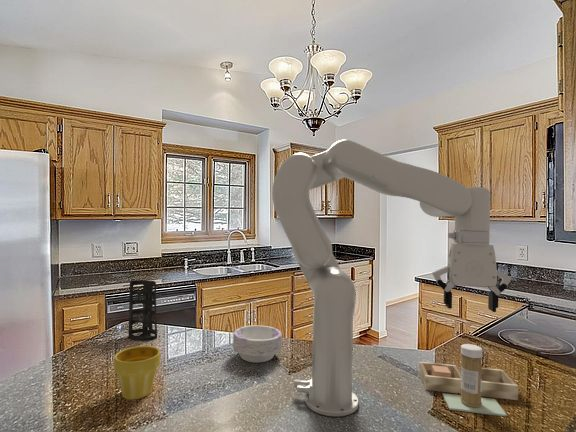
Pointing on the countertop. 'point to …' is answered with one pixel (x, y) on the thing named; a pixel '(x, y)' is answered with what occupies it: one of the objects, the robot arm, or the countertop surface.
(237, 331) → the white bowl
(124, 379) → the plant pot
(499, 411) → the mat
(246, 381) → the countertop surface
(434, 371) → the terracotta cube
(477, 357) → the sprinkles bottle
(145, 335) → the holder
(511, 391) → the box
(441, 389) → the box
